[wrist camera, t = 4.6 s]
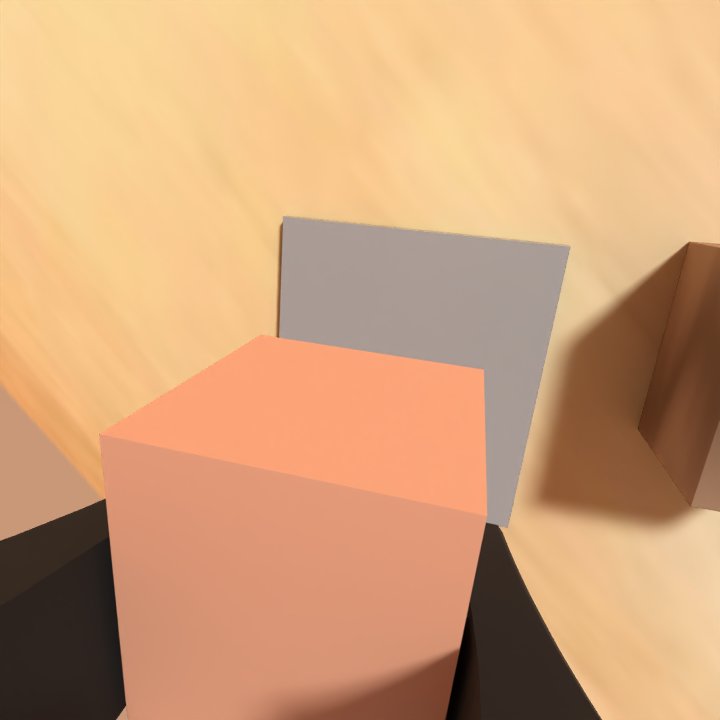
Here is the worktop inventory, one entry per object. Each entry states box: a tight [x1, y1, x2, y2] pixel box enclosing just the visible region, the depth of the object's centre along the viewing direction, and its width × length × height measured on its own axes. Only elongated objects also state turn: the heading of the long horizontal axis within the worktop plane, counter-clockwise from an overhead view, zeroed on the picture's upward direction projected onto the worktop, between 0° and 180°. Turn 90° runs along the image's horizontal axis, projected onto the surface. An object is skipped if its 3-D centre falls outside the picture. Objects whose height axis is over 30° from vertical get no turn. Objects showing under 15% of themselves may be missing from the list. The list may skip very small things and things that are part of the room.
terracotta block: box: [99, 335, 487, 720], centre depth 8 cm, size 6×4×4 cm
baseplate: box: [279, 216, 570, 528], centre depth 17 cm, size 10×9×1 cm
